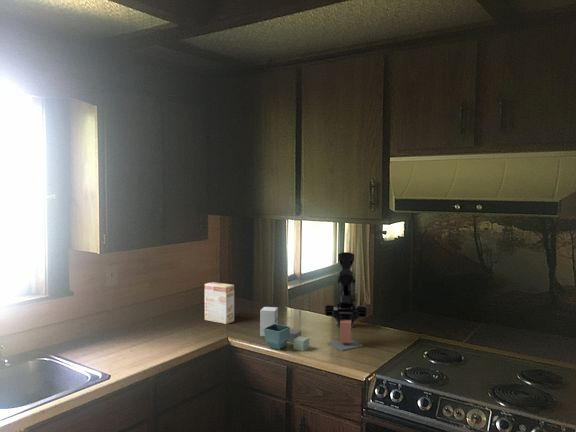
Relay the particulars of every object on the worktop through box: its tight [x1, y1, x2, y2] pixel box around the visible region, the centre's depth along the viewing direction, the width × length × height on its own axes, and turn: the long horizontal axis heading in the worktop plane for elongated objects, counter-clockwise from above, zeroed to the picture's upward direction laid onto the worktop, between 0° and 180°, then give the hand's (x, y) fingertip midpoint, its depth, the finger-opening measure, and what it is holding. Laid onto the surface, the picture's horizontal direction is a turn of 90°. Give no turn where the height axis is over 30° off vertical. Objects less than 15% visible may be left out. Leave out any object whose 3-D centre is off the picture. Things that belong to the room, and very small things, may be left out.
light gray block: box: [287, 329, 302, 344], centre depth 230 cm, size 5×5×4 cm
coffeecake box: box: [204, 281, 235, 325], centre depth 262 cm, size 15×7×20 cm, turn 58°
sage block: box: [292, 336, 310, 352], centre depth 220 cm, size 5×5×4 cm
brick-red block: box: [339, 320, 352, 343], centre depth 224 cm, size 5×5×9 cm
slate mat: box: [326, 339, 364, 352], centre depth 225 cm, size 12×11×1 cm
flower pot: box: [264, 323, 291, 350], centre depth 221 cm, size 9×9×9 cm
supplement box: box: [259, 306, 279, 337], centre depth 239 cm, size 7×7×13 cm
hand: (345, 327), depth 223 cm, fingers closed on brick-red block, 5 cm apart
